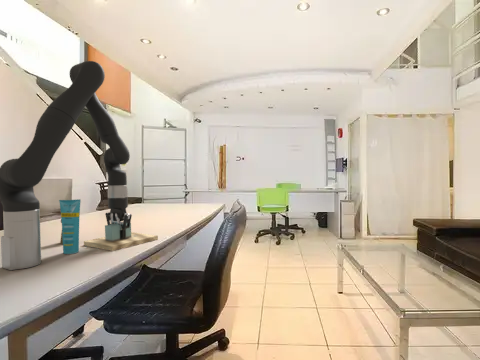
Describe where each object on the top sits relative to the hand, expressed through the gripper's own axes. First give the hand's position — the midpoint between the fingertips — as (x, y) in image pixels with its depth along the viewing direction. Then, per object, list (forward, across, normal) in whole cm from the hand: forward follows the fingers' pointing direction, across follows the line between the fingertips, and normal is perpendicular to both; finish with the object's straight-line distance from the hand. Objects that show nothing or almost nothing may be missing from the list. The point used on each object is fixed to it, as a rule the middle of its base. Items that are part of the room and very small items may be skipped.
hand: (118, 237), depth 123 cm
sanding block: (0, 0, 0) cm, 0 cm away
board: (+2, 0, +2) cm, 3 cm away
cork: (+2, -20, -9) cm, 22 cm away
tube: (+2, -2, -18) cm, 19 cm away
